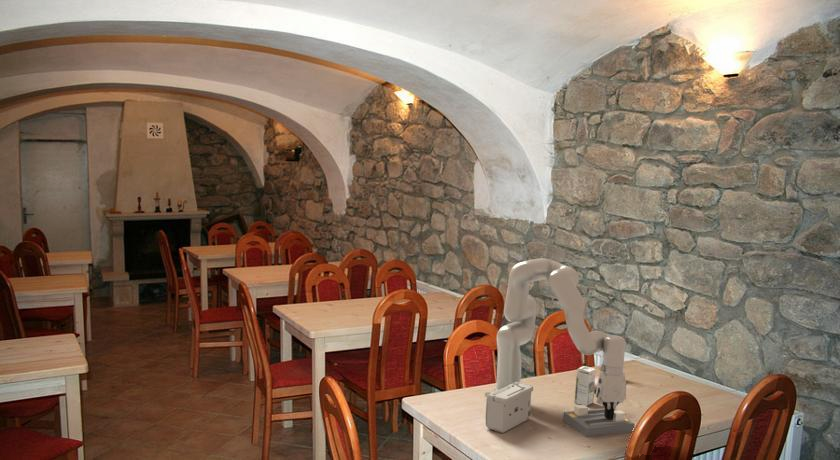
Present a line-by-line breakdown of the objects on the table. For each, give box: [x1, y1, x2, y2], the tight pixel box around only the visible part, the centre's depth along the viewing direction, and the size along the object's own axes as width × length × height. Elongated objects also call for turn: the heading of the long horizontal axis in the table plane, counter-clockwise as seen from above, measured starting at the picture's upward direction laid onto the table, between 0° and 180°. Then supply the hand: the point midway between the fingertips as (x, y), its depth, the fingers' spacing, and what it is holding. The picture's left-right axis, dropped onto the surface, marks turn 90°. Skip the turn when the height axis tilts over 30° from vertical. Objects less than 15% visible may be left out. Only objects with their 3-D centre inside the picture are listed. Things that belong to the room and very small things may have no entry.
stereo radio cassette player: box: [485, 378, 534, 434], centre depth 241 cm, size 21×8×20 cm, turn 141°
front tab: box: [613, 409, 626, 421], centre depth 241 cm, size 4×3×3 cm
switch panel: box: [562, 407, 635, 438], centre depth 243 cm, size 20×16×4 cm
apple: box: [594, 374, 599, 394], centre depth 280 cm, size 8×8×7 cm
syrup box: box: [574, 365, 597, 407], centre depth 266 cm, size 6×6×14 cm
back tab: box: [573, 404, 589, 416], centre depth 245 cm, size 4×3×3 cm
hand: (608, 418), depth 240 cm, fingers closed
